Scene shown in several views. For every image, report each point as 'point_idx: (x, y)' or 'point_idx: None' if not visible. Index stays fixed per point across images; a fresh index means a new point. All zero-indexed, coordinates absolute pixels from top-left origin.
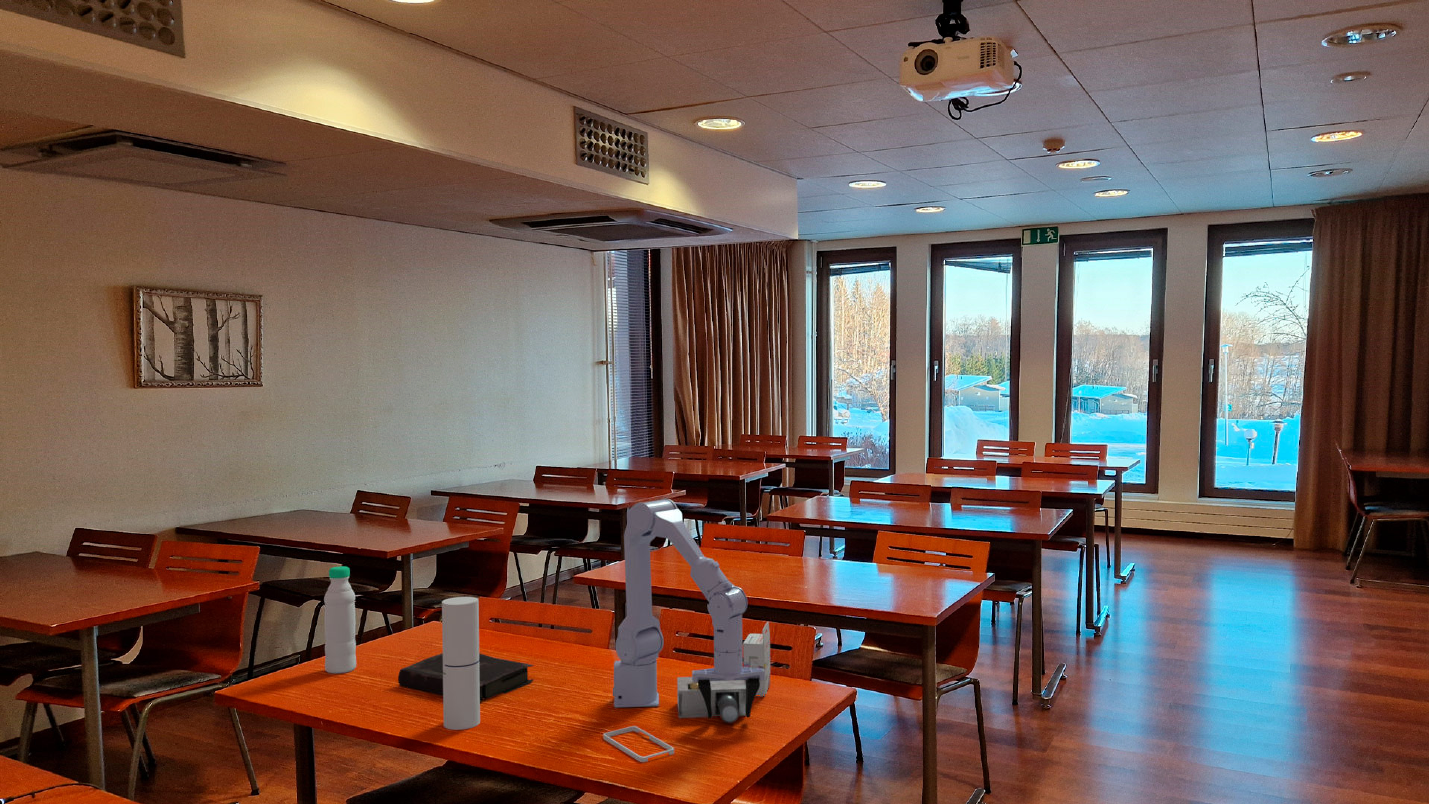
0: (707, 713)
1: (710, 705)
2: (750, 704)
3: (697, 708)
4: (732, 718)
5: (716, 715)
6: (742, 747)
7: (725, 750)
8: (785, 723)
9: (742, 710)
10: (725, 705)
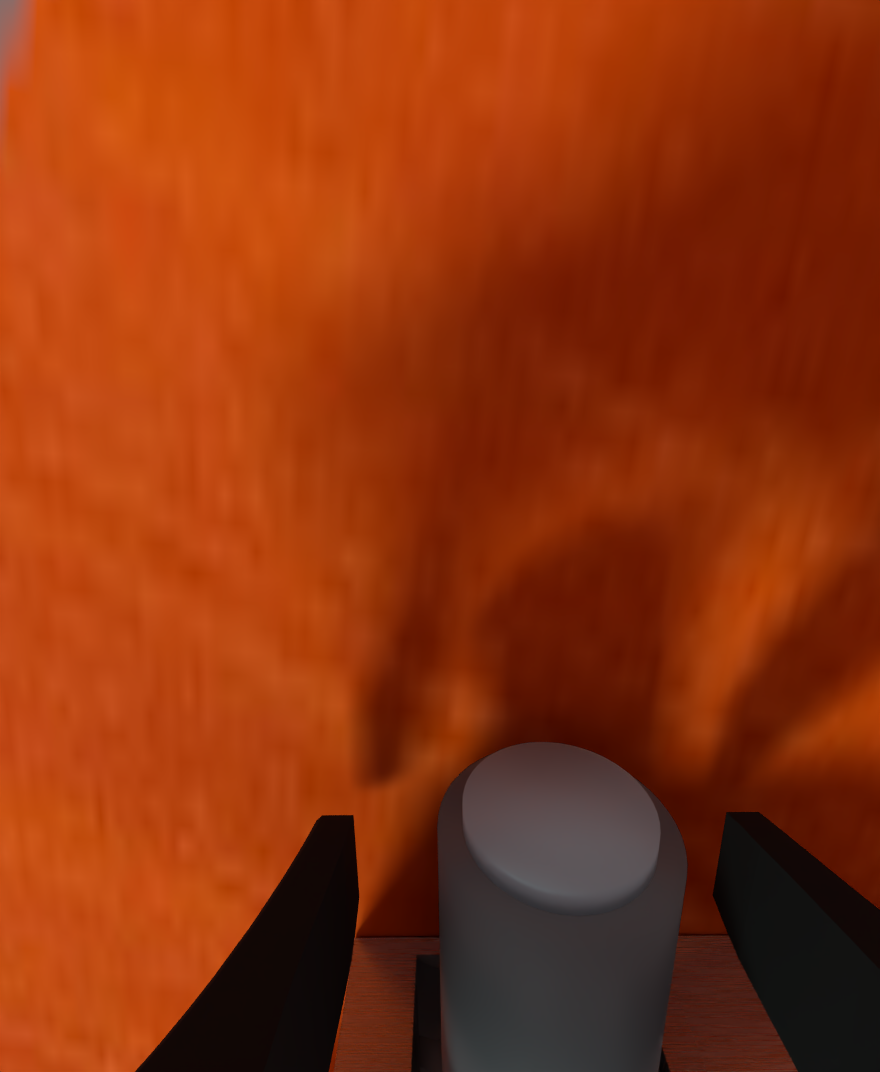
0: (706, 968)
1: (862, 944)
2: (262, 943)
3: None
4: (515, 763)
5: None
6: (454, 111)
7: (677, 13)
8: (3, 762)
9: (385, 988)
10: (644, 923)
